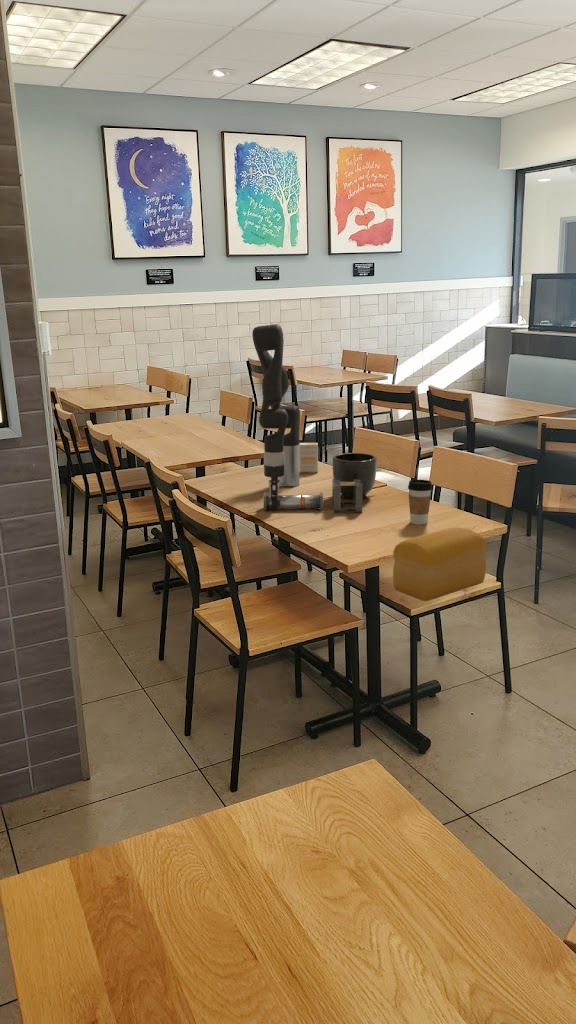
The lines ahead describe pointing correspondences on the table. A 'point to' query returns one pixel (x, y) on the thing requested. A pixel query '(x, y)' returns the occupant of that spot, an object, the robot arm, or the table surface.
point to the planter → (355, 471)
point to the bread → (439, 563)
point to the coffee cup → (419, 500)
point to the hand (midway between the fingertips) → (274, 507)
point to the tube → (295, 501)
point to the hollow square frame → (356, 502)
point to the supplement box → (308, 457)
